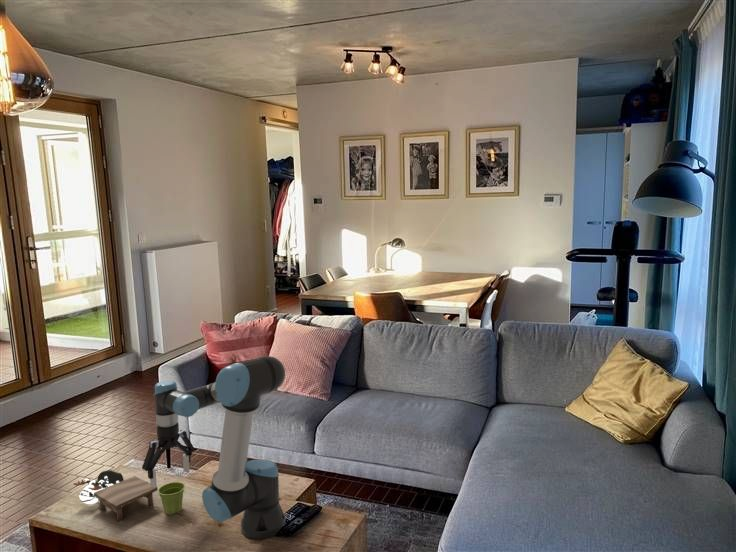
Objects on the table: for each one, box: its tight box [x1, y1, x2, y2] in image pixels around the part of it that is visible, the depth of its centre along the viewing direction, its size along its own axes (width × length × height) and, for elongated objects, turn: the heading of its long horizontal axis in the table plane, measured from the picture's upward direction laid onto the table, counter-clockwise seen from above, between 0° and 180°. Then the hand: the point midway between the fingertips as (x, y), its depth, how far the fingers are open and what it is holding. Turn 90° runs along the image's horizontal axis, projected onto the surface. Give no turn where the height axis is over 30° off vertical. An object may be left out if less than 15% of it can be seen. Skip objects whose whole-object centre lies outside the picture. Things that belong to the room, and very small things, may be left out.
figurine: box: [73, 469, 124, 505], centre depth 209 cm, size 14×10×18 cm
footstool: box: [94, 475, 158, 522], centre depth 200 cm, size 16×16×7 cm
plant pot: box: [157, 481, 186, 515], centre depth 198 cm, size 9×9×9 cm
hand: (170, 478), depth 197 cm, fingers open, 13 cm apart
